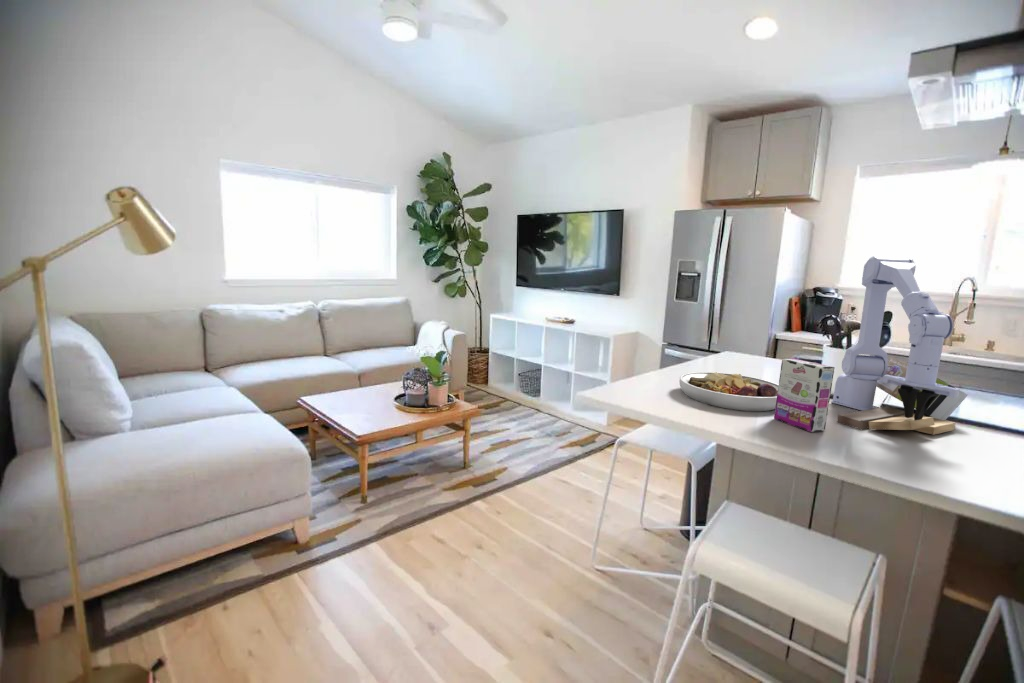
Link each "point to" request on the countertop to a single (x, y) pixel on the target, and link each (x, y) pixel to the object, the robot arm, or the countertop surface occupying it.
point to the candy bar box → (804, 394)
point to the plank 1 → (901, 423)
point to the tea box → (938, 407)
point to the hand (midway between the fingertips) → (913, 418)
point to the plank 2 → (937, 426)
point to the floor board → (868, 416)
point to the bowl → (730, 390)
